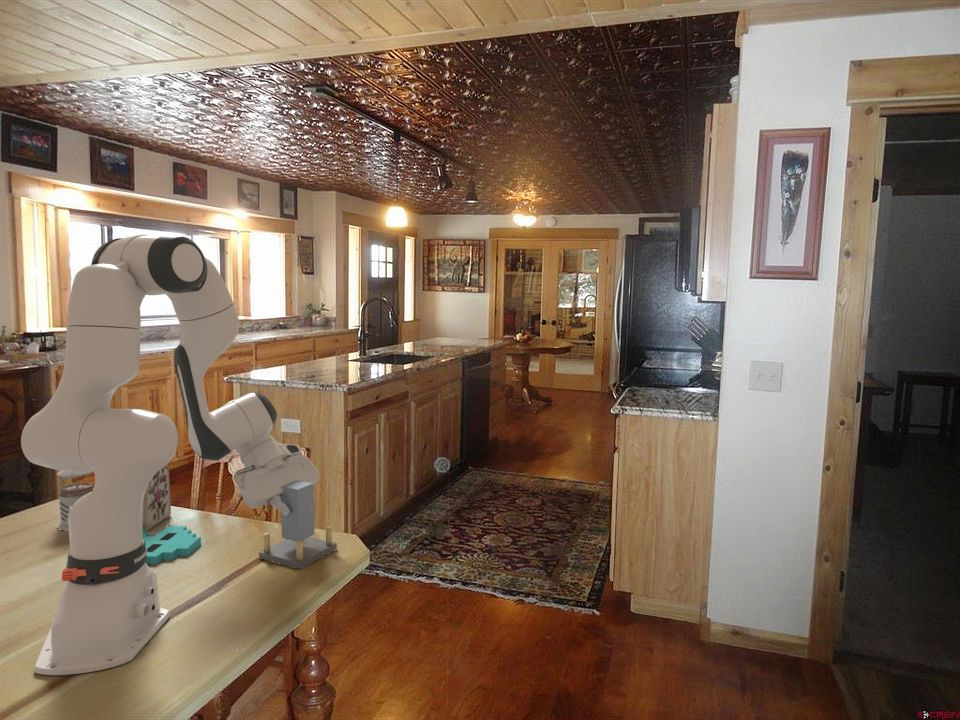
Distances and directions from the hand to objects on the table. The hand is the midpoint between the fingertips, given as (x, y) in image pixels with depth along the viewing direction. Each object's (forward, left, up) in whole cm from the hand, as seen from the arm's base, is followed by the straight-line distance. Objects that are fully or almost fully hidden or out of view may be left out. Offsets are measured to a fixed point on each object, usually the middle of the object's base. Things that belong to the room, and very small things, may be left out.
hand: (299, 509), depth 141 cm
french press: (+32, +56, -11) cm, 66 cm away
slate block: (+1, 0, -6) cm, 6 cm away
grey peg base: (0, 0, -11) cm, 11 cm away
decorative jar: (+29, +41, -11) cm, 52 cm away
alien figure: (+10, +34, -11) cm, 37 cm away
